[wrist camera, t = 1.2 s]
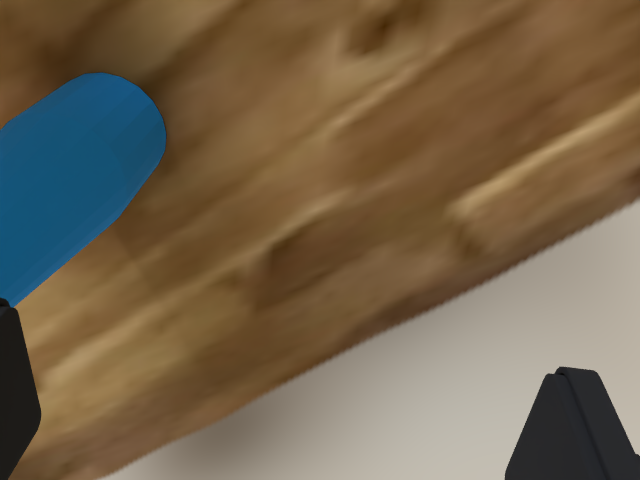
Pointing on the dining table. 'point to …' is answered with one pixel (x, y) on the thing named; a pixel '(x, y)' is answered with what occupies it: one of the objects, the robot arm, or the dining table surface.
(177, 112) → the dining table surface
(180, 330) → the dining table surface
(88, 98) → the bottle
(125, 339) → the dining table surface
